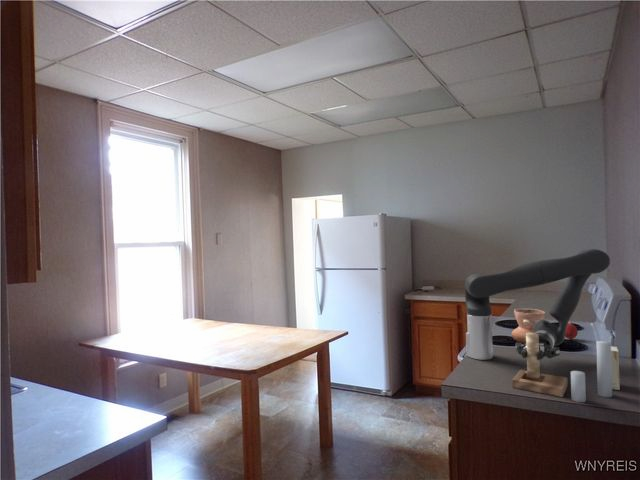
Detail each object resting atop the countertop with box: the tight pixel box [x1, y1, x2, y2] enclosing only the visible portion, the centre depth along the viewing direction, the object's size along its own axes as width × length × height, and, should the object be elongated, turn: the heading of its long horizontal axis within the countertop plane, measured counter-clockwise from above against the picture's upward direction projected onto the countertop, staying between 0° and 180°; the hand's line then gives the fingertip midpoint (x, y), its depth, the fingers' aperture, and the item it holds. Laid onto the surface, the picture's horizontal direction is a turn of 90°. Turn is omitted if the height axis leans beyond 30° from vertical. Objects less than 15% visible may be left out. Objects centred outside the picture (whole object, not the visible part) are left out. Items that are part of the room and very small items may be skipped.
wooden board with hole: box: [512, 369, 569, 398], centre depth 130 cm, size 14×11×2 cm
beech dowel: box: [526, 333, 541, 379], centre depth 131 cm, size 4×4×14 cm
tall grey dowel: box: [595, 340, 613, 398], centre depth 122 cm, size 4×4×16 cm
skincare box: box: [611, 345, 621, 391], centre depth 128 cm, size 6×4×12 cm
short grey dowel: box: [570, 370, 587, 403], centre depth 119 cm, size 4×4×8 cm
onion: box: [565, 322, 579, 341], centre depth 180 cm, size 6×6×8 cm
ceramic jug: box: [511, 308, 546, 344], centre depth 180 cm, size 18×14×14 cm
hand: (531, 356), depth 129 cm, fingers closed on beech dowel, 3 cm apart
